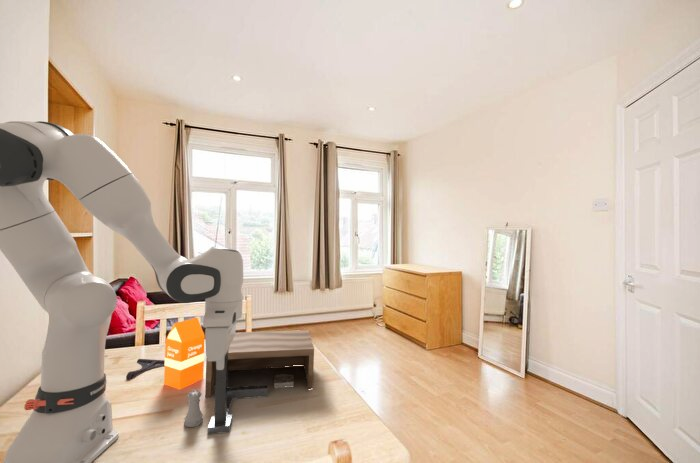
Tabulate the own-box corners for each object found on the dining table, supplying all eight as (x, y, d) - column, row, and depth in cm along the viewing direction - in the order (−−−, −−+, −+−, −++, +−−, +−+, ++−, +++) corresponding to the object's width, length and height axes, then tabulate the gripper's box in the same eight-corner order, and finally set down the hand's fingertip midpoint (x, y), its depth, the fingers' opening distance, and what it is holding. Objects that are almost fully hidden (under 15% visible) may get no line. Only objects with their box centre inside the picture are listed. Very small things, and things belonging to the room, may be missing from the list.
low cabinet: (312, 389, 103) (314, 348, 103) (205, 397, 96) (206, 353, 96) (307, 364, 122) (308, 330, 122) (218, 369, 115) (219, 333, 116)
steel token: (293, 388, 104) (293, 382, 104) (274, 389, 103) (274, 383, 103) (292, 379, 110) (293, 373, 110) (274, 380, 109) (275, 375, 109)
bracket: (107, 380, 106) (107, 371, 106) (140, 362, 121) (140, 355, 121) (148, 383, 105) (148, 375, 105) (176, 365, 120) (177, 357, 120)
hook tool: (264, 428, 82) (266, 351, 82) (207, 434, 79) (210, 353, 79) (267, 393, 100) (269, 329, 100) (221, 396, 97) (223, 331, 97)
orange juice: (163, 384, 103) (165, 321, 104) (187, 373, 111) (189, 315, 112) (180, 389, 100) (182, 325, 100) (203, 378, 108) (205, 318, 108)
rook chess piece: (184, 419, 84) (185, 389, 85) (203, 416, 86) (204, 386, 86) (182, 429, 80) (183, 397, 80) (202, 426, 82) (203, 394, 82)
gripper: (218, 302, 91) (216, 351, 91) (200, 321, 71) (198, 384, 71) (241, 301, 93) (240, 350, 93) (230, 321, 73) (228, 382, 73)
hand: (222, 365), depth 82 cm, fingers open, 3 cm apart
